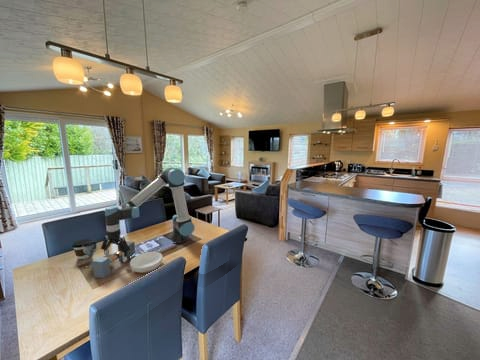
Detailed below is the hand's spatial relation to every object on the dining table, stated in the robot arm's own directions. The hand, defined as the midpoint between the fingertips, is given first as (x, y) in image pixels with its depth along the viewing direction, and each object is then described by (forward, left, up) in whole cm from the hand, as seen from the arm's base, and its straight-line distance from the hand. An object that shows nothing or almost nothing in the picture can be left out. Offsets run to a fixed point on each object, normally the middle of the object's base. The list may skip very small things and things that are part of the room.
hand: (116, 259), depth 131 cm
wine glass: (+17, +2, -4) cm, 18 cm away
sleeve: (0, -10, -4) cm, 10 cm away
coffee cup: (+31, -4, -4) cm, 31 cm away
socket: (0, +11, -4) cm, 12 cm away
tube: (0, -3, +1) cm, 4 cm away
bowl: (-22, -2, -4) cm, 22 cm away
